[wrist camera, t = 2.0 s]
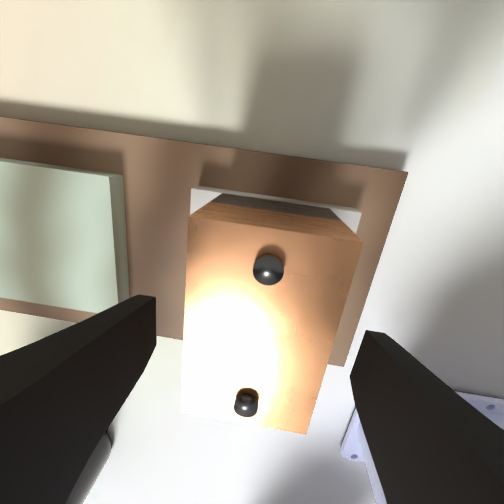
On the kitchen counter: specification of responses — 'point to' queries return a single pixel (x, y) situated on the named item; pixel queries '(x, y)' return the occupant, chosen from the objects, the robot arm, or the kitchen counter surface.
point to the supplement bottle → (91, 471)
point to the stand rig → (153, 217)
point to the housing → (262, 308)
